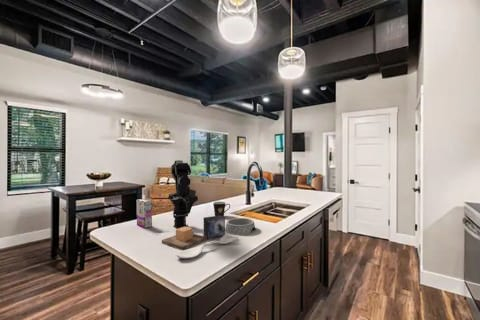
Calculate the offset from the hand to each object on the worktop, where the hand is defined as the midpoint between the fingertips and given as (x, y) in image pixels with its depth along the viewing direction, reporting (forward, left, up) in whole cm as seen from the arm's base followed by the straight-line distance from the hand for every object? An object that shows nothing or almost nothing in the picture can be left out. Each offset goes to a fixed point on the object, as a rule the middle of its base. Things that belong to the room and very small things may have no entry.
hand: (183, 212), depth 133 cm
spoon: (+9, +27, -12) cm, 31 cm away
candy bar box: (+4, -32, -12) cm, 34 cm away
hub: (+8, +10, -10) cm, 17 cm away
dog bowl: (-23, +23, -12) cm, 35 cm away
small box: (-6, +18, -12) cm, 23 cm away
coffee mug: (-40, -6, -12) cm, 42 cm away
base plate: (+8, +10, -12) cm, 18 cm away
